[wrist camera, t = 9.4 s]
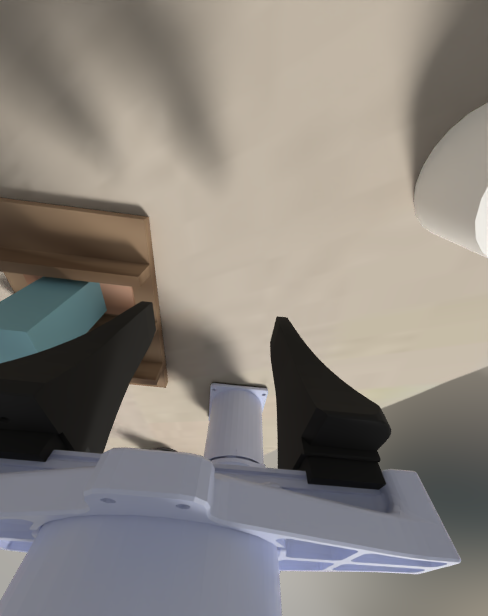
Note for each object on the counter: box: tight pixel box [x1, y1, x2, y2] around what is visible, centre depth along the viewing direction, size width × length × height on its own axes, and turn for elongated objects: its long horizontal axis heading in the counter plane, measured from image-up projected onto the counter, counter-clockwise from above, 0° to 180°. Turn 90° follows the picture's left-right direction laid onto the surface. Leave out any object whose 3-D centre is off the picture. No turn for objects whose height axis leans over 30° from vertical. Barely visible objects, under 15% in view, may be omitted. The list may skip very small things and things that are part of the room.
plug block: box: [0, 276, 107, 363], centre depth 19 cm, size 4×4×8 cm
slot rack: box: [0, 198, 168, 388], centre depth 24 cm, size 22×14×4 cm, turn 173°
